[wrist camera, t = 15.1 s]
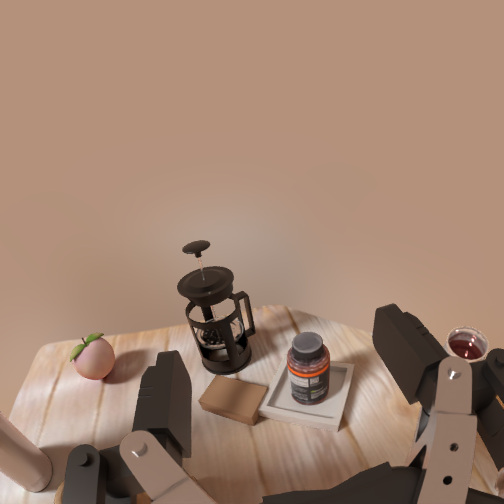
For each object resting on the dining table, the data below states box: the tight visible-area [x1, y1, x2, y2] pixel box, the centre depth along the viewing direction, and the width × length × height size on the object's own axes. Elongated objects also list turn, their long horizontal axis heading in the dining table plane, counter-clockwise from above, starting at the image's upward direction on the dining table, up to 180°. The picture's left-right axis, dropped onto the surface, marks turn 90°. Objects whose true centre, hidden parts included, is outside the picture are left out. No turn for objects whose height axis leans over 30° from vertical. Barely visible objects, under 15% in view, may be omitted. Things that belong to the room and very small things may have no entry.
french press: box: [177, 240, 256, 375], centre depth 47 cm, size 12×9×23 cm
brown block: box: [199, 375, 268, 426], centre depth 41 cm, size 9×6×2 cm, turn 66°
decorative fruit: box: [70, 333, 115, 380], centre depth 47 cm, size 9×8×10 cm
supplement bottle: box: [287, 332, 330, 405], centre depth 38 cm, size 6×6×11 cm
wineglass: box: [443, 326, 489, 363], centre depth 30 cm, size 7×7×12 cm
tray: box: [258, 354, 355, 432], centre depth 40 cm, size 12×12×2 cm
